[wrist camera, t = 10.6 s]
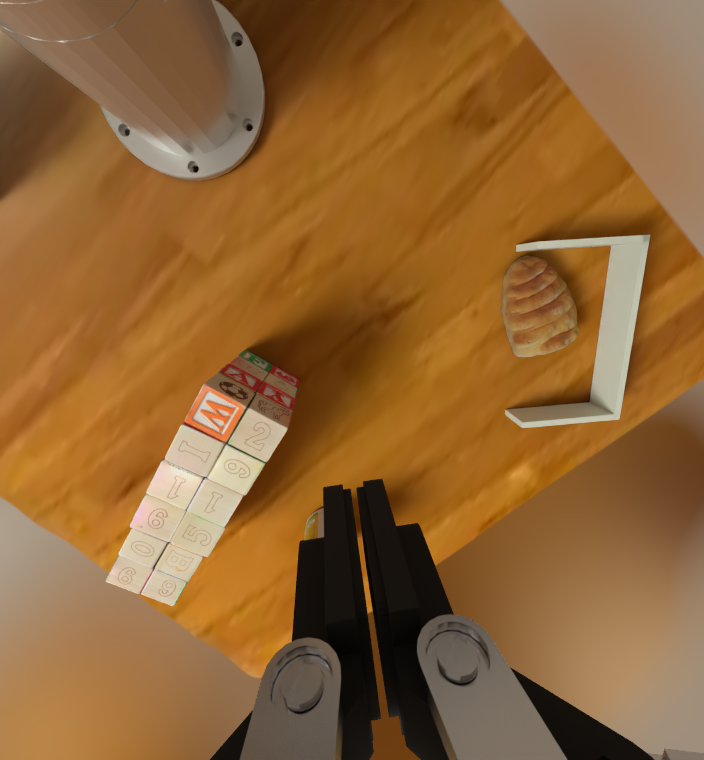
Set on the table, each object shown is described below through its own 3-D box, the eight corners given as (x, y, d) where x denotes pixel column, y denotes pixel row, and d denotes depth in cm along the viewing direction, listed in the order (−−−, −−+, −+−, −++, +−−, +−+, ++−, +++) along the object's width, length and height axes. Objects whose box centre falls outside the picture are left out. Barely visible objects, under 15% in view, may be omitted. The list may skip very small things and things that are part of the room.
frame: (516, 245, 33) (537, 241, 30) (618, 238, 34) (650, 234, 30) (504, 414, 38) (522, 428, 35) (594, 406, 39) (619, 419, 35)
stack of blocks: (206, 534, 40) (156, 642, 28) (152, 511, 39) (77, 614, 27) (301, 378, 36) (289, 429, 24) (244, 346, 34) (203, 383, 22)
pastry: (481, 275, 34) (500, 275, 30) (545, 242, 34) (572, 238, 30) (511, 359, 37) (532, 368, 33) (571, 330, 36) (599, 336, 33)
